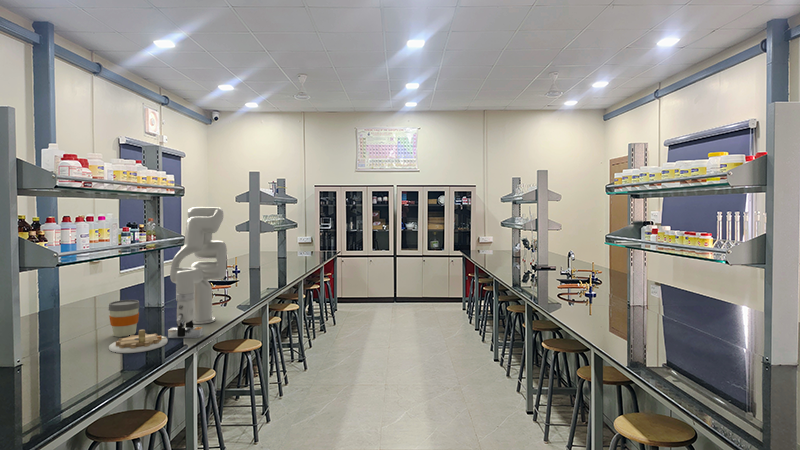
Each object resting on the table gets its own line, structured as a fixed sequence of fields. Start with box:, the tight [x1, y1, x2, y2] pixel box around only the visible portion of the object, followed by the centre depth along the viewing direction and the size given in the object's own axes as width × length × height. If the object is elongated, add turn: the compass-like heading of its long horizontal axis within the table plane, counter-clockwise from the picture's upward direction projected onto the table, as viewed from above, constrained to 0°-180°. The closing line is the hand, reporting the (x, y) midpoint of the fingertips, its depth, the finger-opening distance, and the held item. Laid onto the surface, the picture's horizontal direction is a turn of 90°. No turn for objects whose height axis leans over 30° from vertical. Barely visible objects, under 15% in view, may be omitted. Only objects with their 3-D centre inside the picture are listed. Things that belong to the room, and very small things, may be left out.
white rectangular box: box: [167, 326, 204, 339], centre depth 209 cm, size 4×14×4 cm, turn 94°
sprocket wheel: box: [115, 329, 163, 348], centre depth 195 cm, size 17×17×6 cm
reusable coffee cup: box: [108, 299, 140, 338], centre depth 212 cm, size 13×13×15 cm
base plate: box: [108, 335, 169, 354], centre depth 196 cm, size 22×22×2 cm
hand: (185, 333), depth 209 cm, fingers open, 9 cm apart
